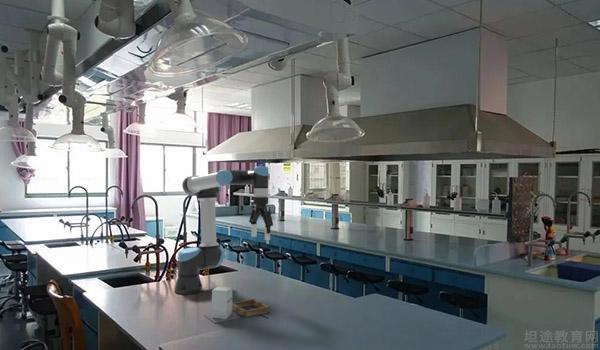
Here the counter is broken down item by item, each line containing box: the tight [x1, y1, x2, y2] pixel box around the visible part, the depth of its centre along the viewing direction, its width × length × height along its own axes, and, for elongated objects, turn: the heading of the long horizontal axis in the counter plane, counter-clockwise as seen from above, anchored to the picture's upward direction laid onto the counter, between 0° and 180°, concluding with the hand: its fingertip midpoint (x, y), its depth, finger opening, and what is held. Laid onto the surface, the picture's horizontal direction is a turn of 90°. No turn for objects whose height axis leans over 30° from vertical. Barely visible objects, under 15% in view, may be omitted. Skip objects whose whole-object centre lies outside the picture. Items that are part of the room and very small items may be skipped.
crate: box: [232, 298, 270, 318], centre depth 196 cm, size 15×13×3 cm
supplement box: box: [211, 285, 233, 319], centre depth 187 cm, size 7×7×13 cm
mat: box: [203, 312, 241, 324], centre depth 186 cm, size 12×12×1 cm
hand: (260, 238), depth 209 cm, fingers open, 13 cm apart
